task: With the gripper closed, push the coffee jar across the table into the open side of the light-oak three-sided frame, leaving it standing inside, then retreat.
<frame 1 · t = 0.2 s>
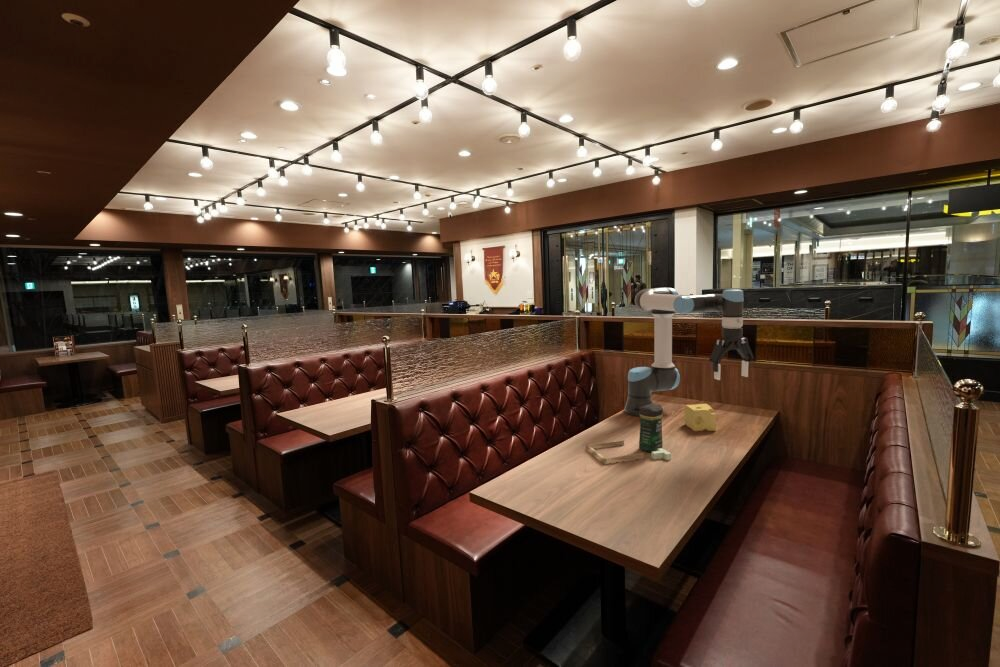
hand: (731, 377, 180), 28 cm above the table, fingers open, 13 cm apart
sage T block: (659, 457, 170), on the table
coffee jar: (651, 449, 179), on the table
oak frame: (613, 453, 175), on the table
cheese: (699, 427, 202), on the table
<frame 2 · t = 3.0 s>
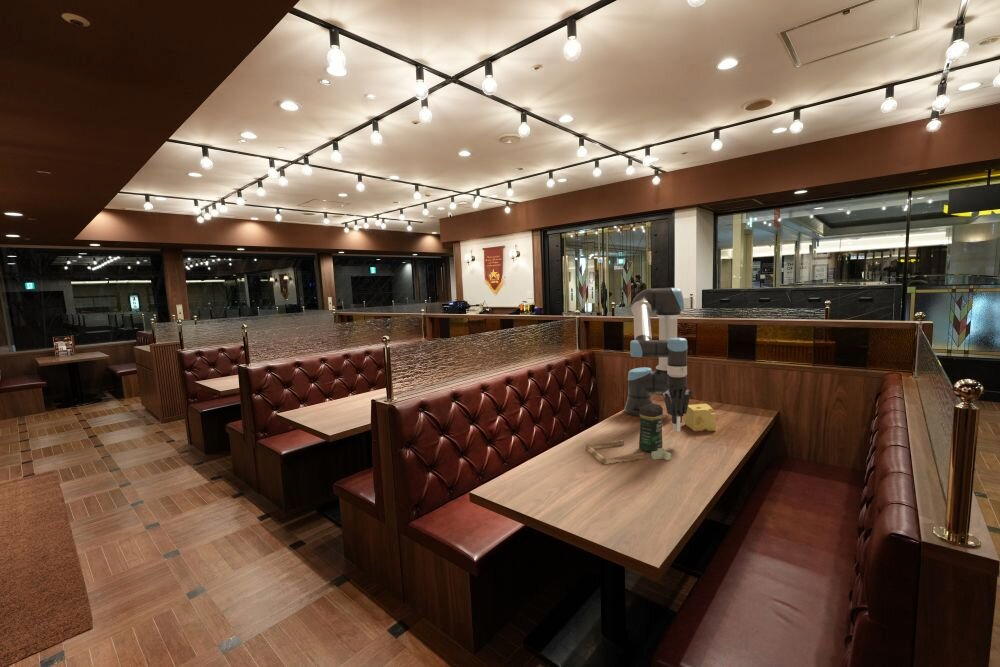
hand: (676, 430, 181), 6 cm above the table, fingers closed
nothing on the table moved.
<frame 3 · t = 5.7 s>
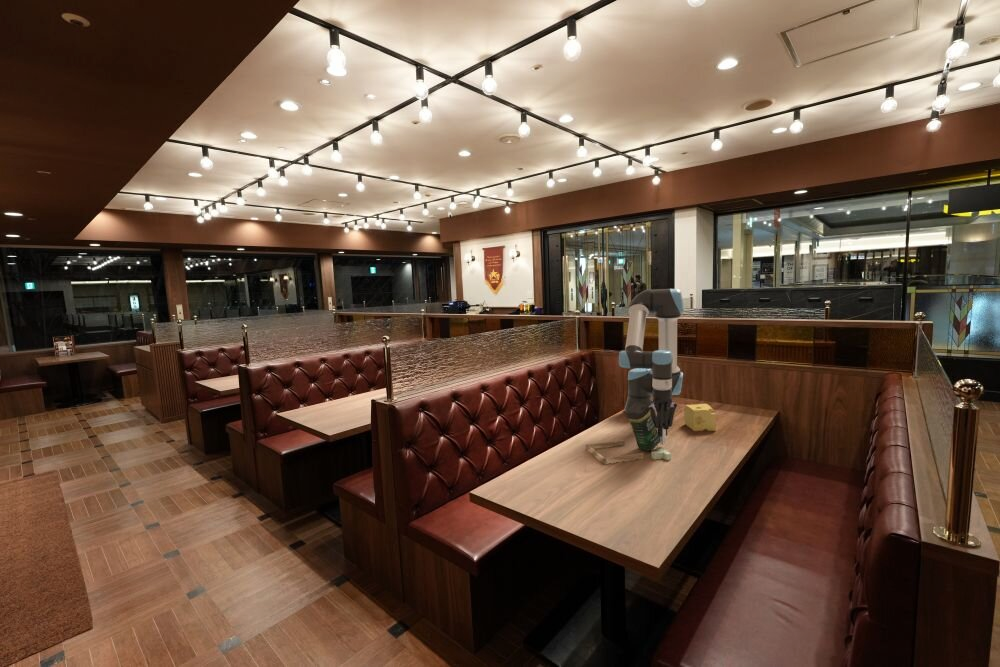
hand: (662, 443, 180), 2 cm above the table, fingers closed
coffee jar: (650, 445, 179), point 2 cm above the table, touching gripper, hand
everything else where it was.
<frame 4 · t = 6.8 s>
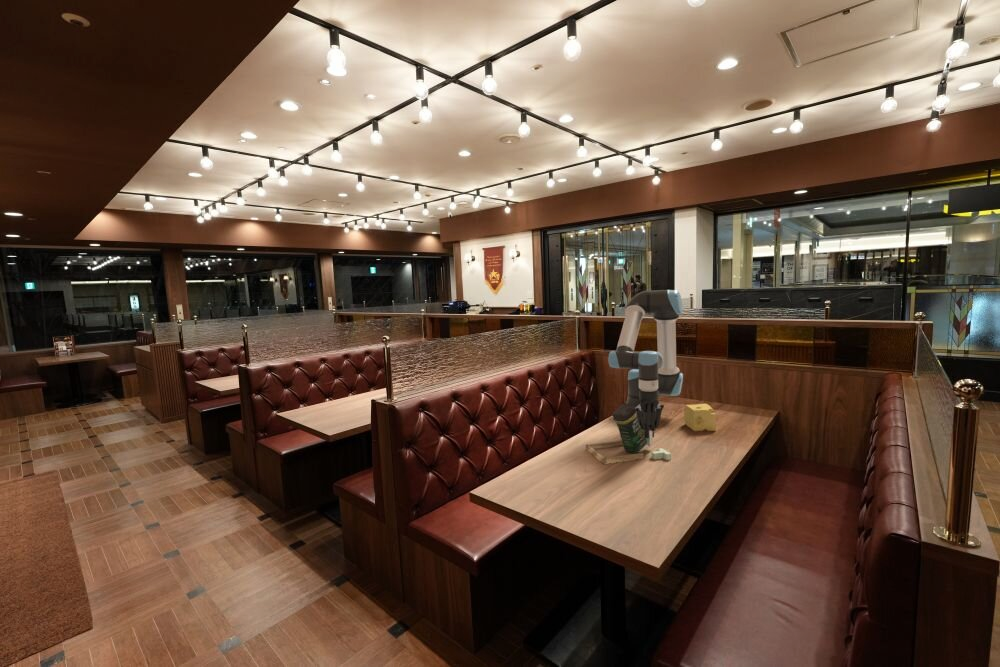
hand: (649, 445, 178), 2 cm above the table, fingers closed
coffee jar: (636, 446, 177), point 2 cm above the table, touching gripper, hand
everything else where it was.
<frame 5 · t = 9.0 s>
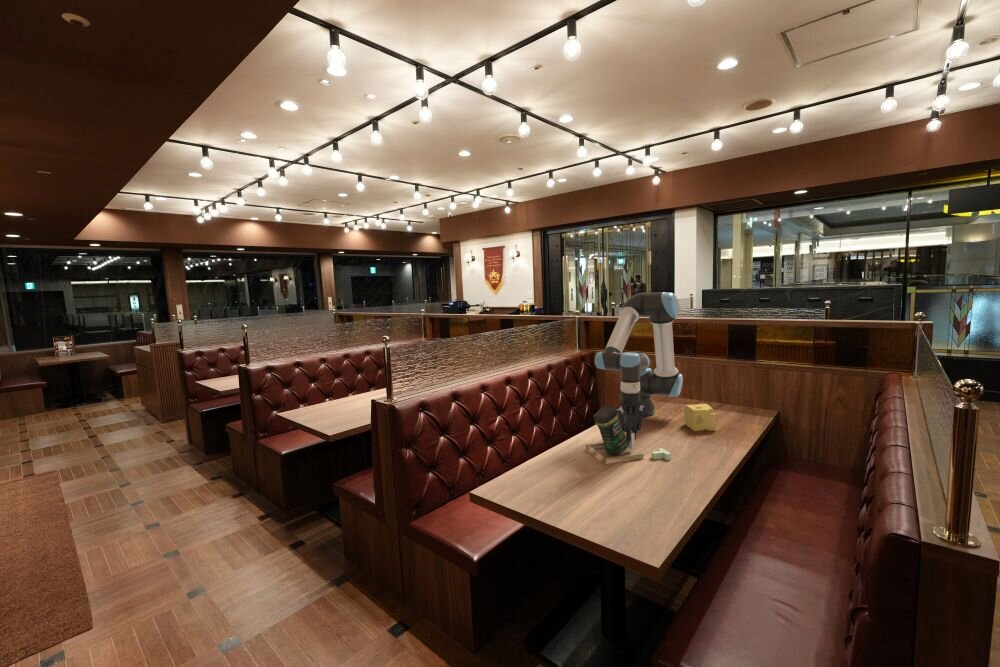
hand: (631, 447, 176), 2 cm above the table, fingers closed
coffee jar: (618, 449, 176), point 2 cm above the table, touching gripper, hand
everything else where it was.
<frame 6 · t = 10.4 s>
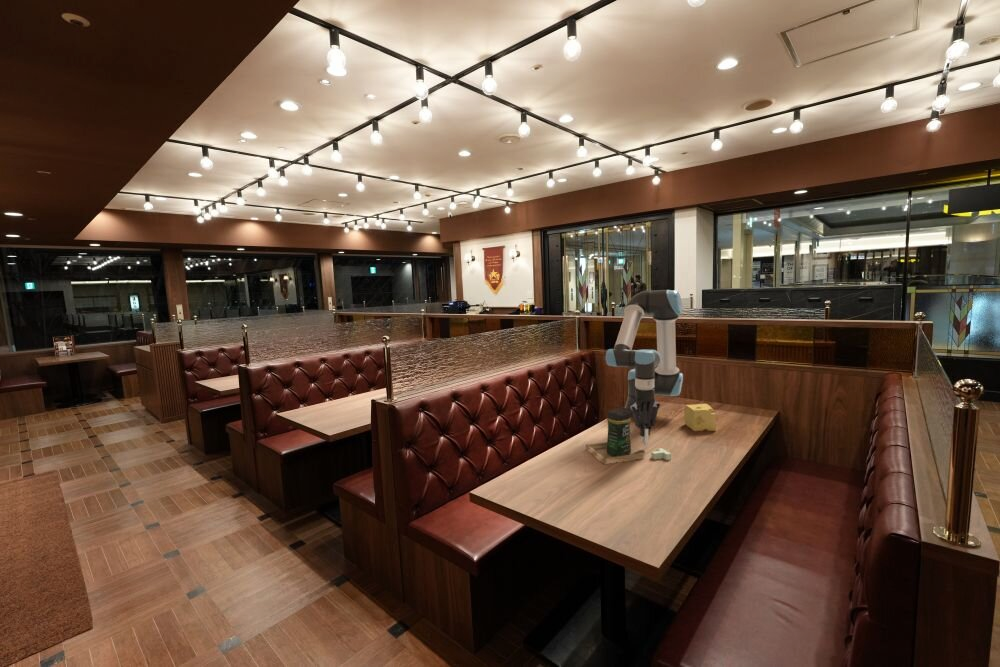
hand: (644, 443, 179), 2 cm above the table, fingers closed
coffee jar: (619, 453, 176), on the table
everything else where it was.
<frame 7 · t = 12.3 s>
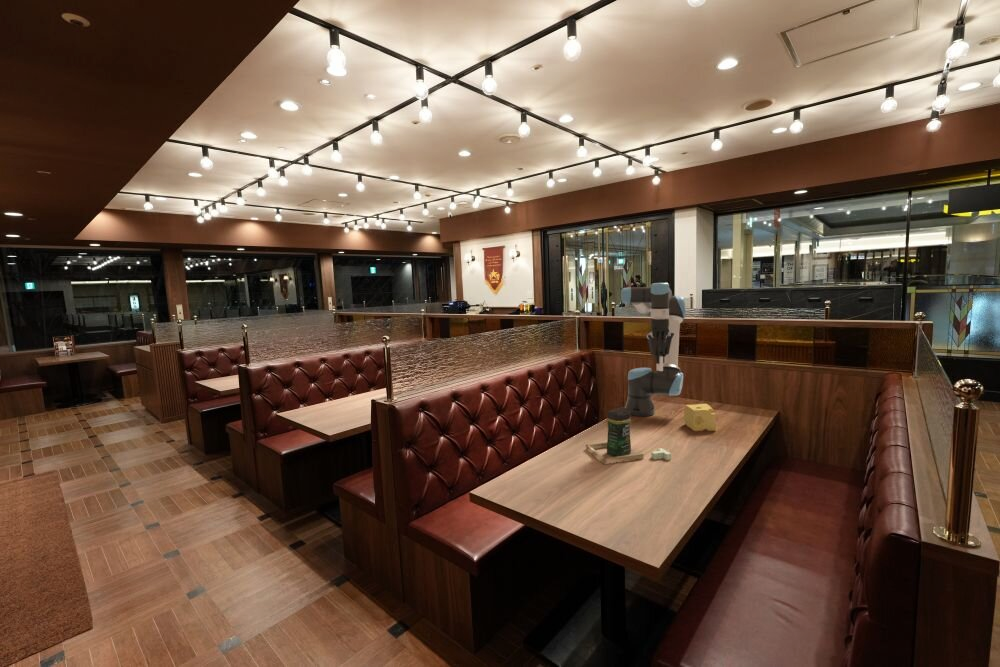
hand: (659, 370, 193), 29 cm above the table, fingers closed
nothing on the table moved.
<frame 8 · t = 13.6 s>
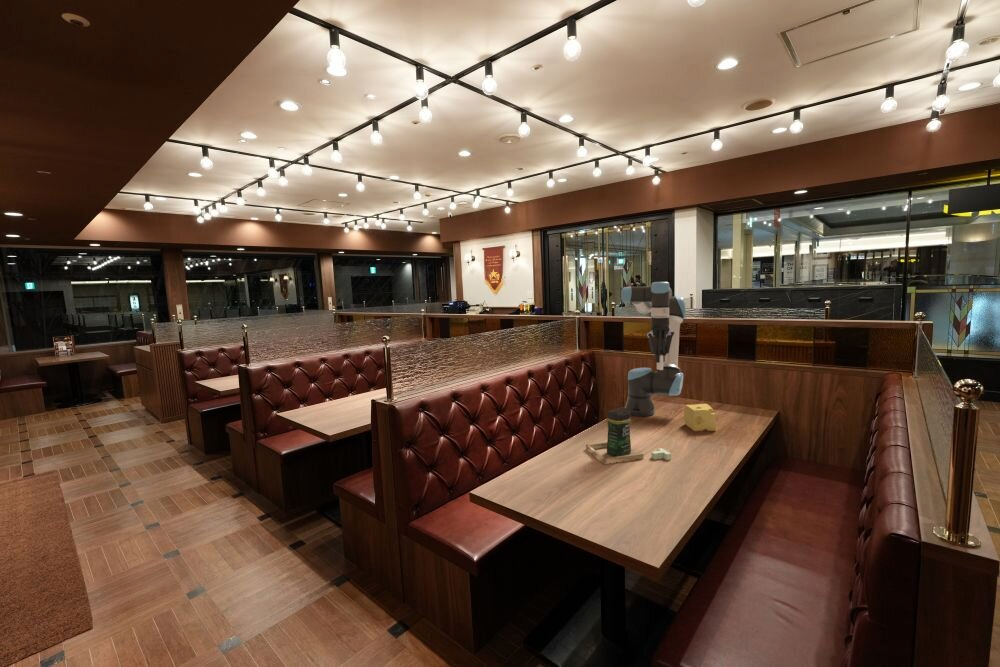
hand: (659, 369, 193), 29 cm above the table, fingers closed
nothing on the table moved.
at the end: coffee jar inside the target area on the oak frame (1.8 cm from its centre), point 0.0 cm above the oak frame's base; coffee jar tilted 0° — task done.
